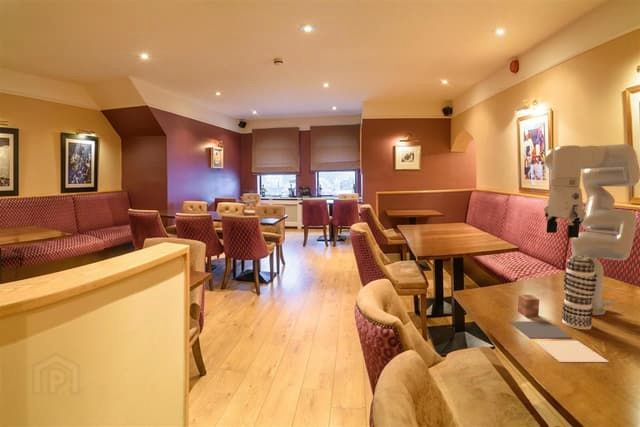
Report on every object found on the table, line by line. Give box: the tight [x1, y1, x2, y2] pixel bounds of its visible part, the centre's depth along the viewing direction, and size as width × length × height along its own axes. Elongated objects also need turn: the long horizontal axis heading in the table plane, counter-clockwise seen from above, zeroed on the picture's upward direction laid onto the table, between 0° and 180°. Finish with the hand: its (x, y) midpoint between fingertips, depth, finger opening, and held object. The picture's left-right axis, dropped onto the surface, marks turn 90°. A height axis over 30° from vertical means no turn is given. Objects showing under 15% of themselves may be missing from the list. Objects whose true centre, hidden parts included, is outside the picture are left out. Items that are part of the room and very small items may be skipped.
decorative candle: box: [561, 255, 597, 330], centre depth 114 cm, size 9×9×25 cm
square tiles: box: [509, 320, 610, 363], centre depth 105 cm, size 14×26×1 cm, turn 178°
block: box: [517, 294, 540, 318], centre depth 124 cm, size 5×5×7 cm
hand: (561, 234), depth 106 cm, fingers open, 9 cm apart
